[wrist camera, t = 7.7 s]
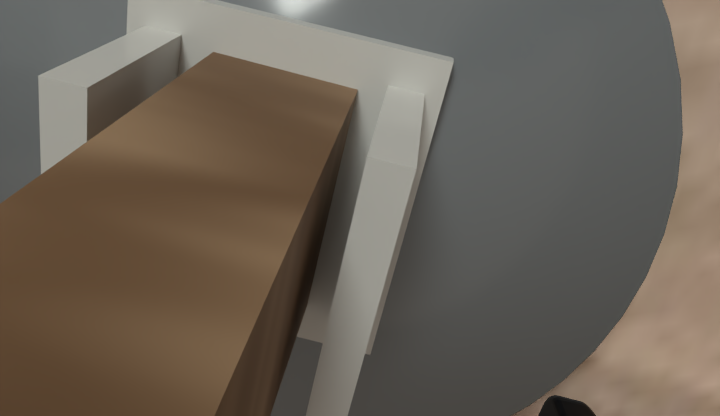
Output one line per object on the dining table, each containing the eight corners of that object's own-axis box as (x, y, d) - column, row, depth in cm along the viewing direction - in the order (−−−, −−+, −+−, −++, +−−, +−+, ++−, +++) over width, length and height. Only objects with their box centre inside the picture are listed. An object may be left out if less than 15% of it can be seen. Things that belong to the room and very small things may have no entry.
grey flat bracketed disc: (823, -158, 9) (1107, -190, 5) (514, 480, 16) (536, 681, 12) (-104, -378, 9) (-507, -571, 5) (-31, 342, 16) (-190, 495, 12)
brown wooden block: (358, 89, 10) (155, 550, 3) (307, 305, 12) (115, 878, 5) (213, 51, 10) (-312, 425, 3) (186, 273, 12) (-170, 802, 5)
